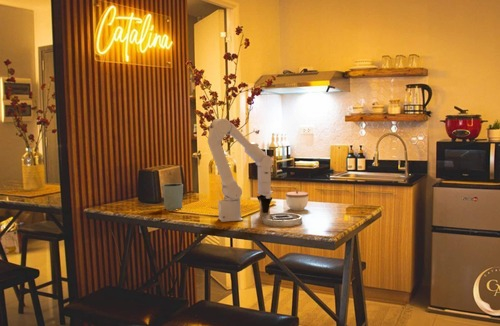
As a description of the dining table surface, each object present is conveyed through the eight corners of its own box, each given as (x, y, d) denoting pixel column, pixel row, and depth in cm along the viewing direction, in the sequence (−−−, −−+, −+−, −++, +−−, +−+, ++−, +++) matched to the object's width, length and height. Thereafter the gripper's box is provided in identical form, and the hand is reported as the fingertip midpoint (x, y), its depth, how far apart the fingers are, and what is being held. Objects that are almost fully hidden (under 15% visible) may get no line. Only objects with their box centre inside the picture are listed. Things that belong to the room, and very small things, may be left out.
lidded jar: (282, 208, 246) (282, 189, 245) (302, 206, 250) (302, 187, 249) (291, 212, 236) (291, 192, 235) (312, 210, 240) (312, 190, 239)
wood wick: (261, 217, 226) (260, 199, 225) (259, 216, 228) (259, 198, 227) (269, 216, 227) (269, 199, 226) (268, 215, 229) (268, 198, 228)
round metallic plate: (268, 227, 205) (268, 221, 205) (259, 219, 221) (259, 214, 221) (306, 225, 209) (306, 219, 208) (294, 217, 224) (294, 211, 224)
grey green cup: (185, 207, 255) (185, 183, 254) (181, 210, 245) (180, 186, 244) (165, 207, 256) (165, 183, 255) (160, 210, 246) (159, 186, 245)
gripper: (277, 183, 220) (277, 214, 221) (268, 179, 234) (269, 208, 235) (261, 184, 218) (261, 215, 220) (253, 180, 232) (254, 209, 234)
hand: (264, 212), depth 227 cm, fingers closed on wood wick, 2 cm apart
